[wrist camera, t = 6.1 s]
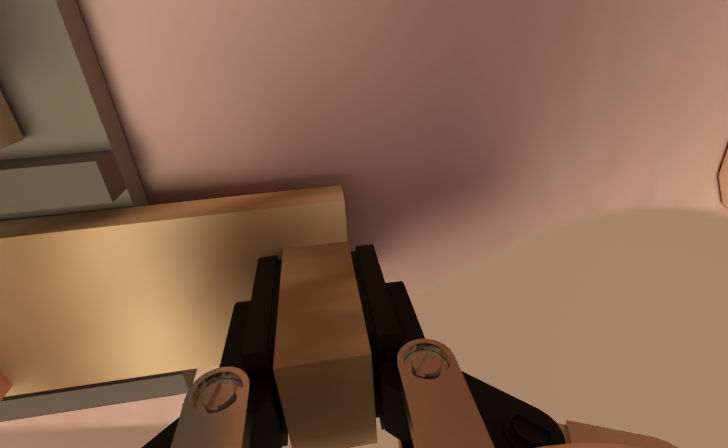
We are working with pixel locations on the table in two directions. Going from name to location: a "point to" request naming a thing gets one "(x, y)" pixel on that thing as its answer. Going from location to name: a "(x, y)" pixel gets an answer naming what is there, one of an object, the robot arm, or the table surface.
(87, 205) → the lane board
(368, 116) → the table surface
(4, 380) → the cube
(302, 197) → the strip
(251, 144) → the table surface
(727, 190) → the white cup
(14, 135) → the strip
